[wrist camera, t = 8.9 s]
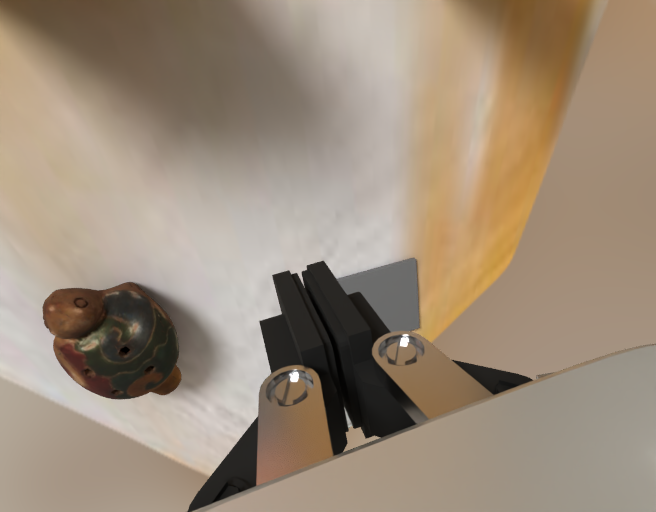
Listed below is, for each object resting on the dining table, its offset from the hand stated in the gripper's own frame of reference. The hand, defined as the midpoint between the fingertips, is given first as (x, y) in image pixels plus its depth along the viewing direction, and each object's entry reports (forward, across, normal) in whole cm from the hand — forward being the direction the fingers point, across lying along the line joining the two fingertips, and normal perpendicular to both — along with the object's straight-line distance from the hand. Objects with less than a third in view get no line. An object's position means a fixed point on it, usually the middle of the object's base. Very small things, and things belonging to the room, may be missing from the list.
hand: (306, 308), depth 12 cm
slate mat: (+27, -10, +20) cm, 35 cm away
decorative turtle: (+27, +15, +13) cm, 34 cm away
